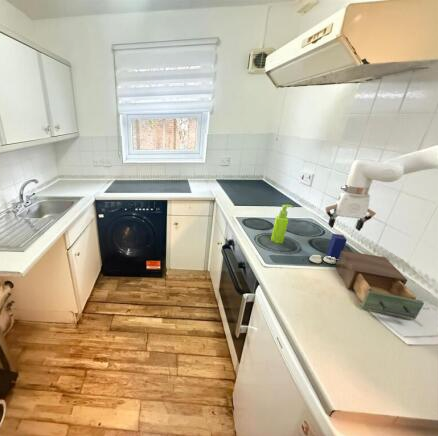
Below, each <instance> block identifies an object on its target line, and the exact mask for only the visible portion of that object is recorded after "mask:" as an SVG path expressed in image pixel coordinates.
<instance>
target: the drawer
mask: <svg viewBox="0 0 438 436" xmlns="http://www.w3.org/2000/svg"><path fill="white" fill-rule="evenodd" d="M352 287H353V289H354V290H355V291H354V292H355V294H356V295H357V297H358V299H359V300H360V302H361V306H360V307H361V308H362V309H363V310H367V311H373V312H377V313H382V314H385V315H391V316H396V317H399V318H404V319H409V320H413V321H415V320H416V319H417V317H418V316H419V313H420V312H421V310H422V309H423V306H424V305H425V302H424V301H423V300H421V299H417V297H416V296H415V294H414V293H412V291H411V290H410V289H409V288H408V287H407V286H406V284H405V285H404V284H403V283H402V282H401V281H400V280H394V279H389V278H383V277H377V276H372V275H366V274H361V273H357V275H356V277H355V279H354V282H353V284H352Z"/></svg>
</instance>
